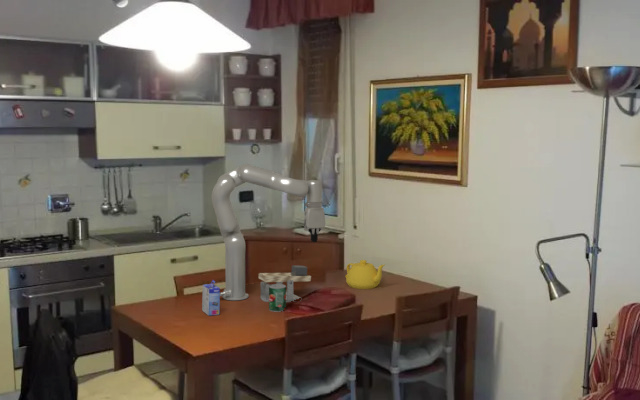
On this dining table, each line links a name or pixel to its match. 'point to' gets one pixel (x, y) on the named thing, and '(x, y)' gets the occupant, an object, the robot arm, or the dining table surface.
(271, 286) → the canned tomato
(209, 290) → the ink cartridge box
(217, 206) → the robot arm
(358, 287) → the teapot
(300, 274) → the block
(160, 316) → the dining table surface
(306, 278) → the balance beam
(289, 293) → the beam stand
